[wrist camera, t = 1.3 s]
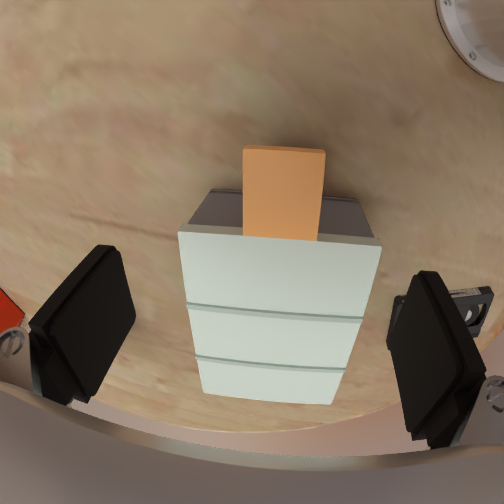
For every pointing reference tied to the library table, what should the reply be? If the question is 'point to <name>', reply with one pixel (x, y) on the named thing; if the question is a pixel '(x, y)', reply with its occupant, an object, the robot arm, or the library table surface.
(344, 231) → the tub
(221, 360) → the lid
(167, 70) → the library table surface
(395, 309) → the vhs tape
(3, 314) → the file binder
